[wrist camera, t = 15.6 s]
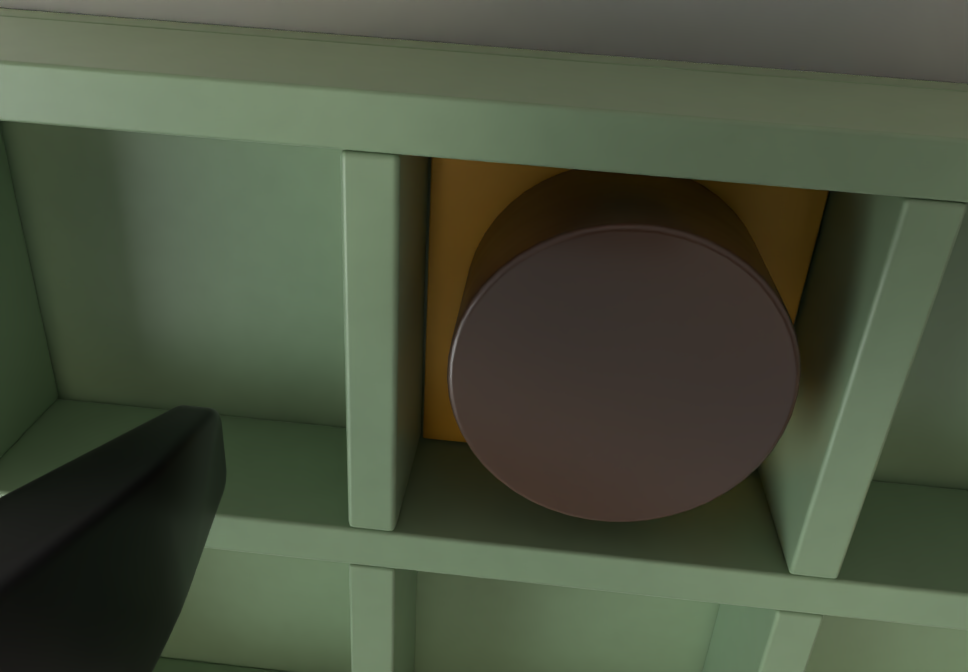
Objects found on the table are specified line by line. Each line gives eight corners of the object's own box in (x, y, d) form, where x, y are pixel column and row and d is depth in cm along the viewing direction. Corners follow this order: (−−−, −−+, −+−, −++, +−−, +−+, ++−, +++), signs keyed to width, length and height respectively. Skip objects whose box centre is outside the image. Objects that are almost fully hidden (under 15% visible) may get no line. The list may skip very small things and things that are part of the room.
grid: (1019, 752, 18) (1097, 911, 15) (100, 647, 19) (22, 779, 16) (1378, 114, 11) (1627, 193, 9) (-44, 4, 12) (-215, 43, 10)
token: (648, 467, 14) (661, 572, 12) (415, 342, 14) (386, 430, 11) (828, 261, 12) (882, 343, 10) (567, 100, 12) (566, 152, 9)
